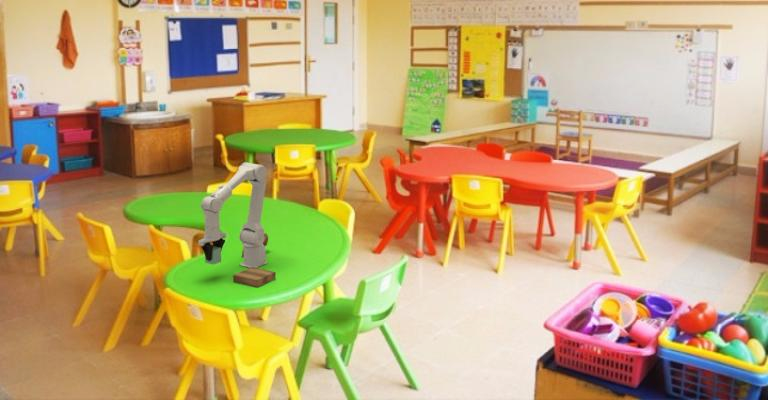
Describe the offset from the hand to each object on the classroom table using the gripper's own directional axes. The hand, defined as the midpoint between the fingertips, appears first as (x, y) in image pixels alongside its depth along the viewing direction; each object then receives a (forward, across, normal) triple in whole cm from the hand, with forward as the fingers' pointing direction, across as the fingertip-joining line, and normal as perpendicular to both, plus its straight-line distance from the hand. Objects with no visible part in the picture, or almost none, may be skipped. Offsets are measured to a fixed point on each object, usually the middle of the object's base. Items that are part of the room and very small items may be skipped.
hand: (213, 258), depth 320 cm
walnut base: (+8, -7, +16) cm, 19 cm away
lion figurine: (+9, -34, -6) cm, 36 cm away
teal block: (+2, 0, 0) cm, 2 cm away
